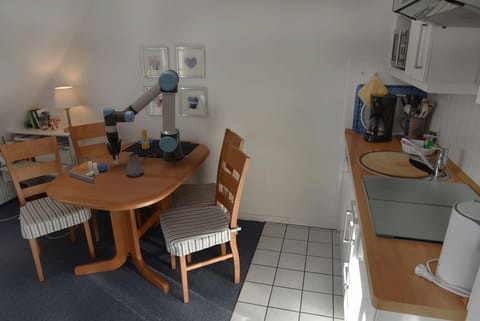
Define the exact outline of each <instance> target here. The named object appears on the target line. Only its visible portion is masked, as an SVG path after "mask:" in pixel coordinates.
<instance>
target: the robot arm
mask: <svg viewBox="0 0 480 321" xmlns="http://www.w3.org/2000/svg"><path fill="white" fill-rule="evenodd" d="M179 82H180V76H179V73H178V72H177V71H175V70H173V69H167V70H166V71H165V70H164V71H163V72H161V73H160V74H159V77H158V79H157V82H156V83H155V84H153V85H152V86H151V87H150V88H149V89H148V90H146V91H144V92H143V94H142V95H141V96H139V97H138V98H137V99H136V100H134V101H133V102H132V103H131V104H130V105H129V106H128V107H126V108H125V109H124V110H122V111H118V110H117V111H116V109H115V108H113V107H109V108H108V107H107V108H104V109H103V111H102V113H103V114H102V115H103V120H104V128H105V132H106V133H105V134H106V138H107V139H106V142H104V146H106V149H107V152H108V154H109V156H112V160H113V162H114V165H119V163H120V162H119V155H120V154H121V153H122V152H121V150H122V149H121V148H122V142H123V141H122V139H121V138H119V132H118V123H134V122H135V117H136V115H138V114H139V113H140V112H141V111H142V110H144V109H145V108H146V107H148V106H149V105H150V104H151V103H152V102H153V101H155V100H156V99H157V98H158V97H159V96H162V97H161V100H162V101H161V102H162V105H161V106H162V107H161V109H162V110H161V111H162V112H161V113H162V129H161V131H159V133H160V137H159V138H160V140H159V142H158V143H159V148H160V149H161V150H162V151H163V155H162V159H163V161H165V162H179V161H182V160H183V159H184V158H185V157H184V153H183V150H182V148H181V138H180V137H181V135H180V133H181V132H180V128H178V127H176V95H177V94H178V92H179V91H178V90H179V89H178V88H179V86H178V85H179Z"/></svg>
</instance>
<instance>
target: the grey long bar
mask: <svg viewBox="0 0 480 321" xmlns="http://www.w3.org/2000/svg"><path fill="white" fill-rule="evenodd" d="M68 174H69V176H70V177H71V178H74V179H78V180H80V181H84V182H88V183H90V184H93V183H94V184H95V183H96V180H95V178H94V177H92V176H90V177H88V176H85V174H82V173H78V172H76V171H75V172H74V171H70V172H68Z"/></svg>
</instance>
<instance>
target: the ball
mask: <svg viewBox="0 0 480 321" xmlns="http://www.w3.org/2000/svg"><path fill="white" fill-rule="evenodd" d="M97 169H98V171H99V172H105V171H107V169H108V164H107V163H105V162H104V161H103V162H99V163H98V164H97Z"/></svg>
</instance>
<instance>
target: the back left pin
mask: <svg viewBox="0 0 480 321" xmlns="http://www.w3.org/2000/svg"><path fill="white" fill-rule="evenodd" d="M92 167H93V171H94V175H93V176H94V177H98V176H99V173H98V171H99V169H98V164H97V162H92Z"/></svg>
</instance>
